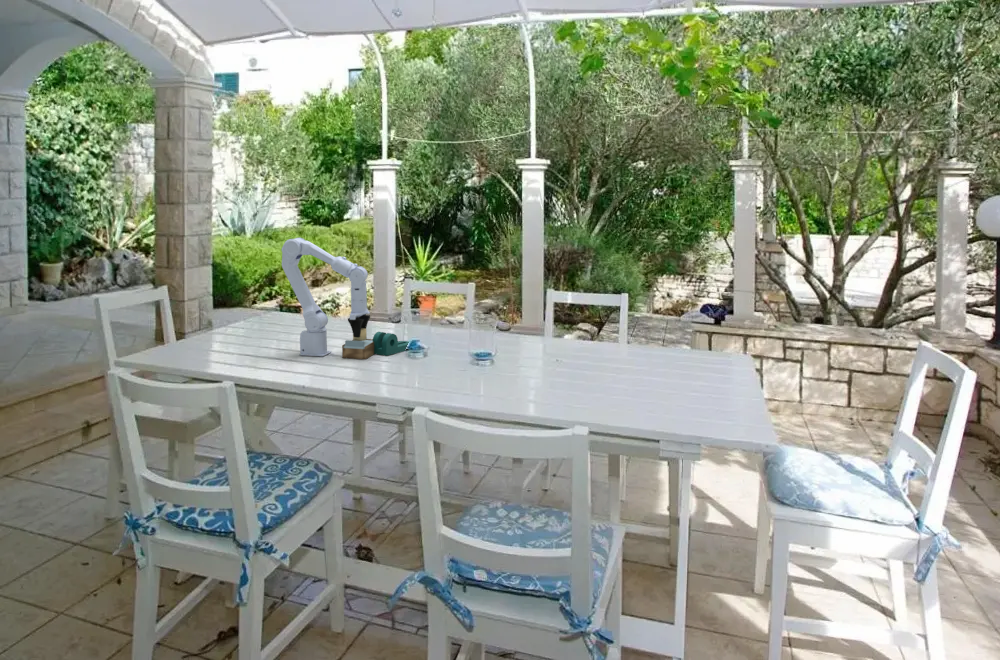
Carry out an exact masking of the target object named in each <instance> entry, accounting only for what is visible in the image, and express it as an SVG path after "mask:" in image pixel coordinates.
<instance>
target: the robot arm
mask: <svg viewBox="0 0 1000 660" xmlns="http://www.w3.org/2000/svg"><path fill="white" fill-rule="evenodd" d="M303 256H313V257H314V258H317V260H320V261H322V262H325V263H326V264H329V266H330V267H331V269H332V271H334V272H336V273H337V274H340V275H342V276H343V277H345V278H347V279H349V282H350V308H351V309H350V310H351V311H350V314H349V317H348V318H347V322H348V324H349V325H350V327H351V331H352V336H353V335H354V337H360V334H361V328H366V329H367V327H368V323H369V321H370V319H371V315H370V314H371V312H370V311H369V308H368V306H367V305H368V301H367V300H368V297H367V295H368V294H367V290H368V289H367V279H368V275H369V273H368V271H367V269H366V268H365V267H364V266H361V265H359V264H357V263H353V262H352V261H350V260H348V259H347V257H345V256H340V255H339V256H335V255H332V254H330V253H329V252H328V251H326V250H324V249H323V248H321V247H319V246H318V245H316V244H314V243H312V242H311V241H309V240H306V239H305V238H303V237H295V238H289V239H287V240H285V242H284V243H283V245H282V247H281V257H282V258H281V267H282V269H283V270H282V271H284V274H285V276H286V278H287V280H288V282H289V284H290V287H291V288H292V291H293V293H294V294H295V296H296V299H297V300H298V303H299V305H300V307H301V308H302V317H303V318H304V326H305V328H306V330H302V331H301V332H300V336H299V352H300V353H299V355H298V356H307V357H308V356H310V357H325V356H326V355H329V354H330V353H332V350H328V341H327V340H328V337H327V336H328V335H327V333H328V331H327V328H326V326H327V324H328V322H329V317H328V316H327V314H326V313H325V312H324V311H323V310H322V309H321V307H320V306H319V305H318V304H317V303H316V302H315V299H314V297H313V294H312V293H311V291H310V289H309V287H308V285H307V282H306V281H305V279H304V276H303V273H302V272H301V270H300V268H299V266H298V265H299V263H300V261H301V258H303Z"/></svg>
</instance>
